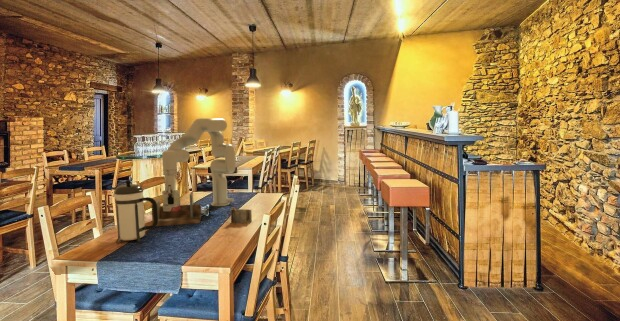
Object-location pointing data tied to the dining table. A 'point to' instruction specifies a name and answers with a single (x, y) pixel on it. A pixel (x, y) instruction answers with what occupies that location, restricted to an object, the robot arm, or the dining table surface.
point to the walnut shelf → (176, 215)
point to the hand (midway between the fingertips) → (171, 202)
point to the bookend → (193, 216)
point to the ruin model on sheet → (241, 215)
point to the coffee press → (132, 212)
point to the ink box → (176, 201)
